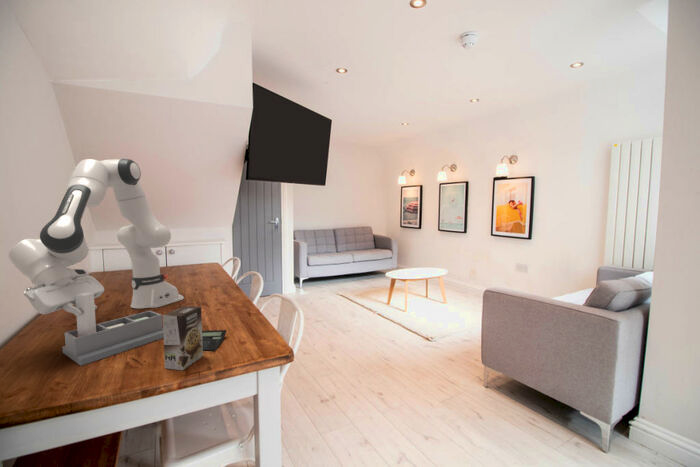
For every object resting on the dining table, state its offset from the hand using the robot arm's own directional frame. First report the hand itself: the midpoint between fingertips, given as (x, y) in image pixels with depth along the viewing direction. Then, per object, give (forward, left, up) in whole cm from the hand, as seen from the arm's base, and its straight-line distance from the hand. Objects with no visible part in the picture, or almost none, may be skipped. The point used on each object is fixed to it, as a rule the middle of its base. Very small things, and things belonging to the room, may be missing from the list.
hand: (87, 312), depth 99 cm
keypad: (-8, -1, -14) cm, 16 cm away
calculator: (-24, +25, -14) cm, 38 cm away
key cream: (-8, -1, -9) cm, 12 cm away
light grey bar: (0, -1, -7) cm, 7 cm away
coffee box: (-13, +31, -14) cm, 37 cm away
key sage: (-16, -1, -9) cm, 18 cm away
